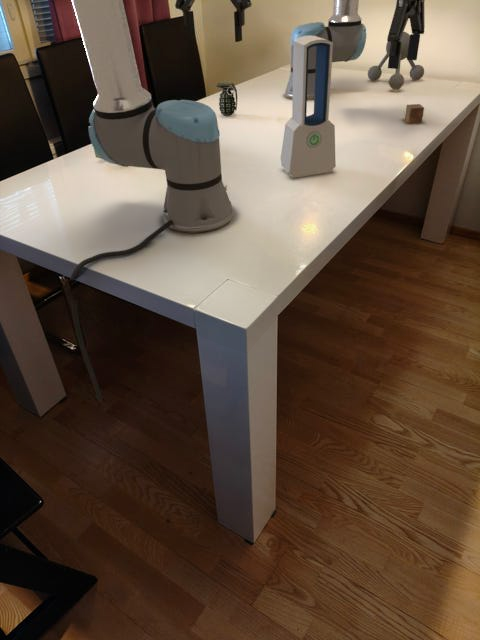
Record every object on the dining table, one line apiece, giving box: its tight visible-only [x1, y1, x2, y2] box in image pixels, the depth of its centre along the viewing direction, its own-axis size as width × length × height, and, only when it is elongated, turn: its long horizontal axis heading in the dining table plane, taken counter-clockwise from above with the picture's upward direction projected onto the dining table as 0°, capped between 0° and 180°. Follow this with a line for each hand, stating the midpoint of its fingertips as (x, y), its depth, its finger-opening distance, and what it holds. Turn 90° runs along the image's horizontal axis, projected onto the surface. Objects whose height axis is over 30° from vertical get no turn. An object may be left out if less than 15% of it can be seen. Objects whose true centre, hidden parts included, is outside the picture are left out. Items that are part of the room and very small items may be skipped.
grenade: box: [215, 82, 238, 117], centre depth 166 cm, size 7×6×10 cm
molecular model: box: [367, 31, 425, 91], centre depth 184 cm, size 24×22×30 cm
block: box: [403, 103, 425, 125], centre depth 153 cm, size 4×4×5 cm
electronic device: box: [280, 35, 336, 179], centre depth 117 cm, size 12×8×30 cm, turn 105°
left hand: (214, 41), depth 127 cm, fingers open, 13 cm apart
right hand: (402, 64), depth 140 cm, fingers open, 13 cm apart
